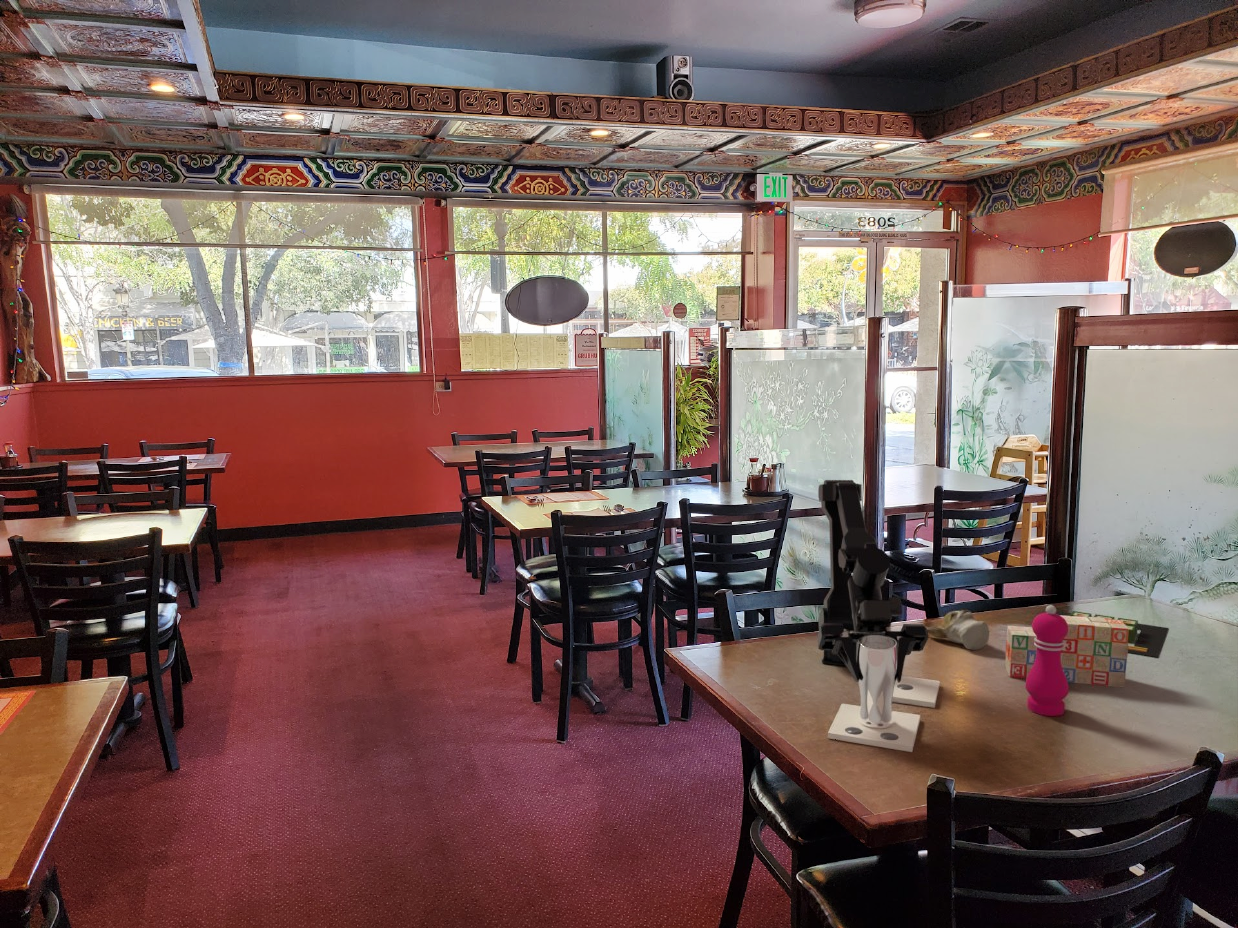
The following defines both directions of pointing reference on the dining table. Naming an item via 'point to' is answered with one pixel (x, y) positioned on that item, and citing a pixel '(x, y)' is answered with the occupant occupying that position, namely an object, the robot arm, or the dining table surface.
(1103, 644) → the stack of blocks
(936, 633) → the ceramic sculpture
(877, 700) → the beer glass
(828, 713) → the dining table surface
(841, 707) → the two-dot tile
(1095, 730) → the dining table surface
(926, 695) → the one-dot tile
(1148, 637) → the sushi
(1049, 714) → the pepper mill
